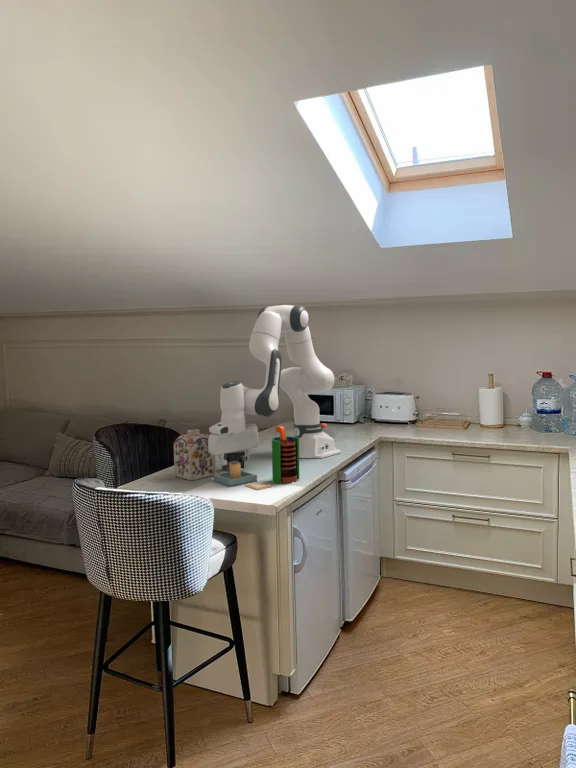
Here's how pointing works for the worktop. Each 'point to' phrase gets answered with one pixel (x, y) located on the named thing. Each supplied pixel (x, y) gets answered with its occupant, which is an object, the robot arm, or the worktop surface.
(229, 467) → the grey block
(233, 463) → the orange part
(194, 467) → the decorative jar
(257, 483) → the tag
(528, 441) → the worktop surface
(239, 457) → the electrical switch
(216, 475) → the tray
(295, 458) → the motor
